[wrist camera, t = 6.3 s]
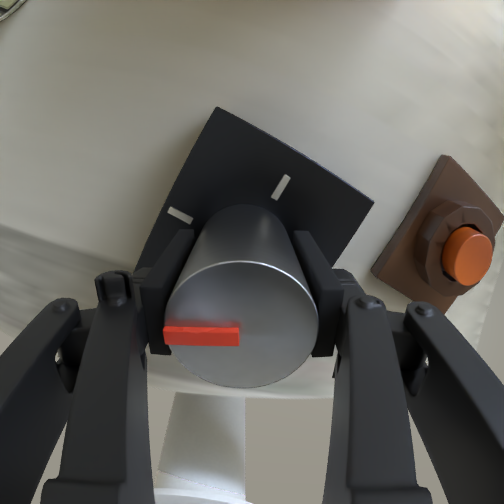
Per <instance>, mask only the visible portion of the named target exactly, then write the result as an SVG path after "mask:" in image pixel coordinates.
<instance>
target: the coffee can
mask: <svg viewBox="0 0 504 504" xmlns="http://www.w3.org/2000/svg"><path fill="white" fill-rule="evenodd" d="M25 1H26V0H0V21H1V20H3V19H5V18H6V17H8V16H9V15H11V14H12V13H13V12H14V11H15V10H17V9H18V8H19V7H20V6H21V5H22V4H23V3H24V2H25Z"/></svg>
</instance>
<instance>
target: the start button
mask: <svg viewBox="0 0 504 504" xmlns="http://www.w3.org/2000/svg"><path fill="white" fill-rule="evenodd" d="M491 260H492V245H491V242H490V240H489V239H488V237H486V236H485V235H483V234H482V233H480V232H478V231H476V230H474V229H472V228H470V227H461V228H458V229H456V230H455V231H454V232H453V233H451V235H450V236H449V237H448V239H447V240H446V242H445V244H444V247H443V250H442V265H443V268H444V270H445V271H446V272H447V273H448V274H449V275H450V276H451V277H453V278H454V279H455V280H456V281H458V282H459V283H460V284H462V285H465V286H469V285H473V284H475V283H477V282H478V281H480V280H481V279H482V278H483V276H484V275H485V274H486V272H487V271H488V269H489V267H490V264H491Z"/></svg>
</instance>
